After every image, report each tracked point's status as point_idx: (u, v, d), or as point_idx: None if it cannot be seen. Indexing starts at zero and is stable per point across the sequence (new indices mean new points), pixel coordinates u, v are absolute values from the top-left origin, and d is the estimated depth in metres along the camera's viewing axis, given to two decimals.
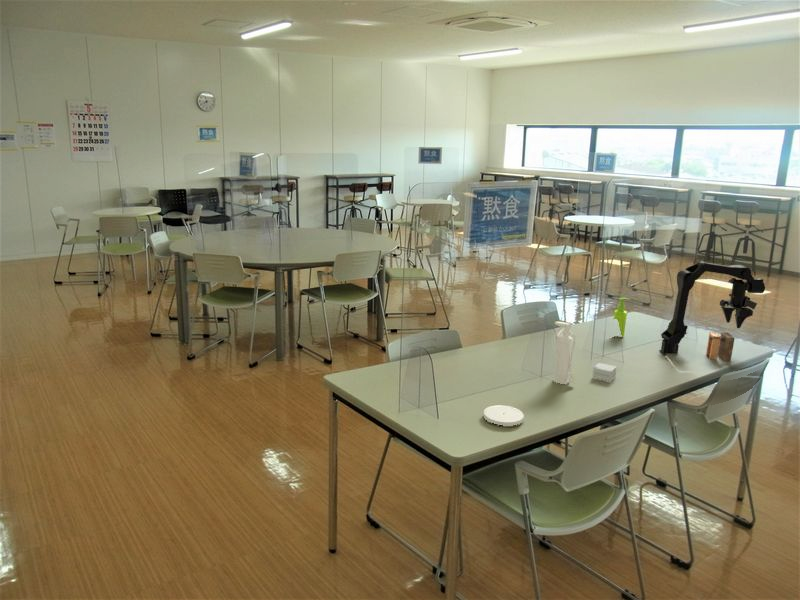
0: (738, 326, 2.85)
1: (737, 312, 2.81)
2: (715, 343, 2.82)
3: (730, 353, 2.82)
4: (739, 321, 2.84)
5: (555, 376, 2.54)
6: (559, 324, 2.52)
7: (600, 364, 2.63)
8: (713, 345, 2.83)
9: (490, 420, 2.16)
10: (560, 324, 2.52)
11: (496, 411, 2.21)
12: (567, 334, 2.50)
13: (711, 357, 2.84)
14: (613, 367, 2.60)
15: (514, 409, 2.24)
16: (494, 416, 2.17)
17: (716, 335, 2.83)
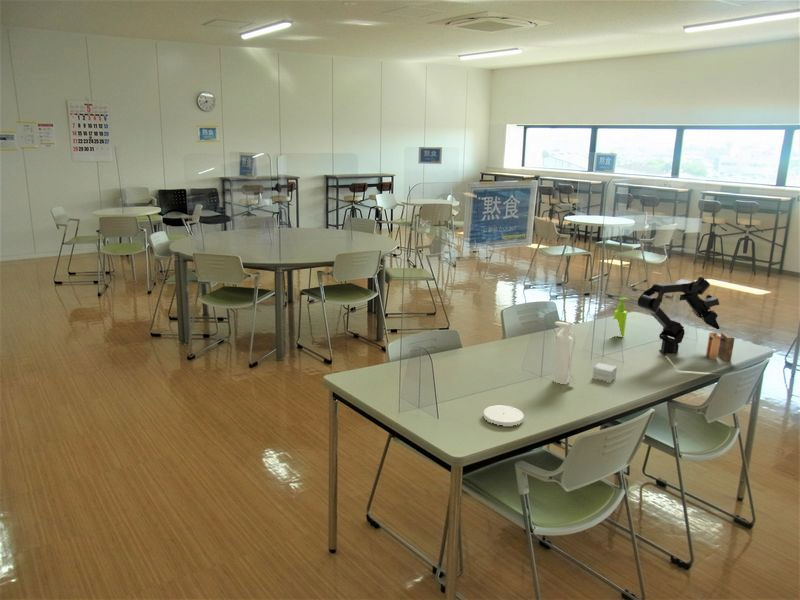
0: (717, 328, 2.88)
1: None
2: (715, 343, 2.82)
3: (730, 353, 2.82)
4: (714, 324, 2.87)
5: (555, 376, 2.54)
6: (559, 324, 2.52)
7: (600, 364, 2.63)
8: (713, 345, 2.83)
9: (490, 420, 2.16)
10: (560, 324, 2.52)
11: (496, 411, 2.21)
12: (567, 334, 2.50)
13: (711, 357, 2.84)
14: (613, 367, 2.60)
15: (514, 409, 2.24)
16: (494, 416, 2.17)
17: (716, 335, 2.83)
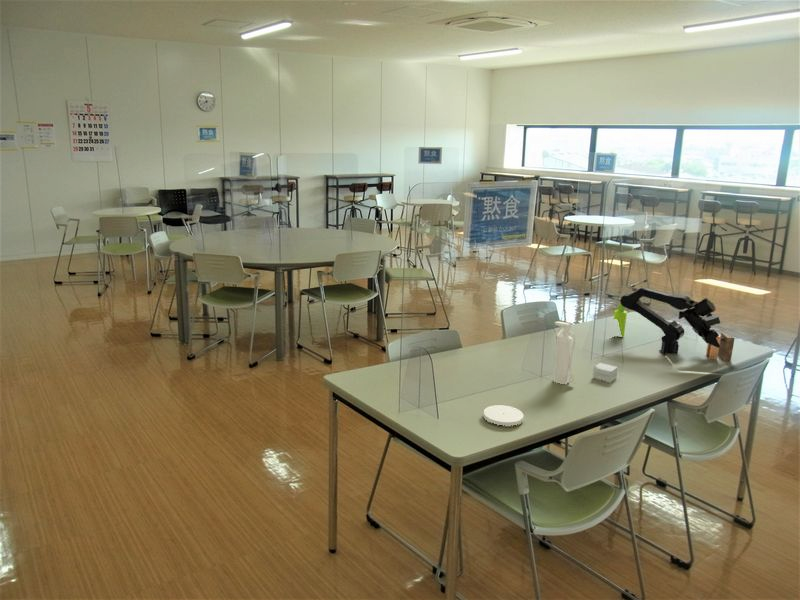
0: (717, 346, 2.82)
1: None
2: None
3: (730, 353, 2.82)
4: (714, 343, 2.81)
5: (555, 376, 2.54)
6: (559, 324, 2.52)
7: (601, 364, 2.63)
8: None
9: (490, 420, 2.16)
10: (560, 324, 2.52)
11: (496, 411, 2.21)
12: (567, 334, 2.50)
13: (711, 357, 2.84)
14: (614, 367, 2.60)
15: (514, 409, 2.24)
16: (494, 416, 2.17)
17: None
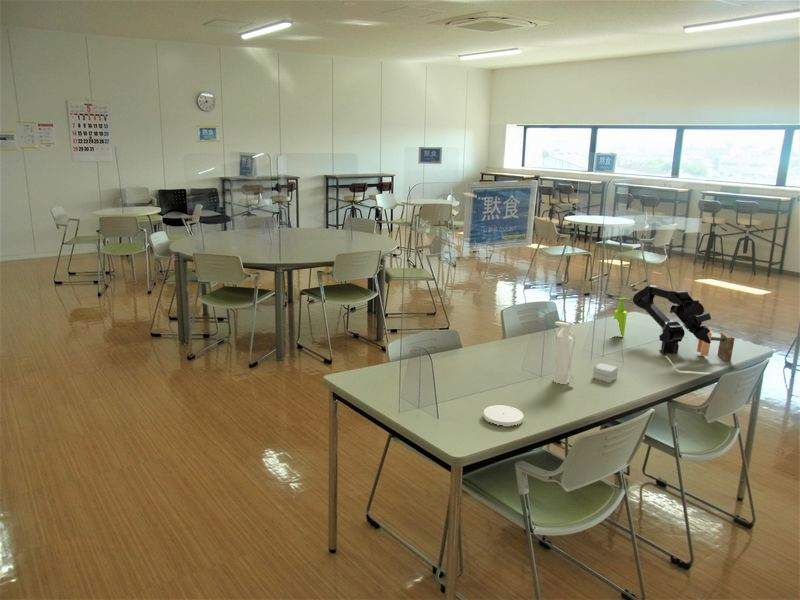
0: (708, 342, 2.82)
1: (696, 337, 2.79)
2: None
3: (730, 353, 2.82)
4: (705, 339, 2.82)
5: (555, 376, 2.54)
6: (559, 324, 2.52)
7: (601, 364, 2.63)
8: None
9: (490, 420, 2.16)
10: (560, 324, 2.52)
11: (496, 411, 2.21)
12: (567, 334, 2.50)
13: (702, 353, 2.85)
14: (614, 367, 2.59)
15: (514, 409, 2.24)
16: (494, 416, 2.17)
17: None
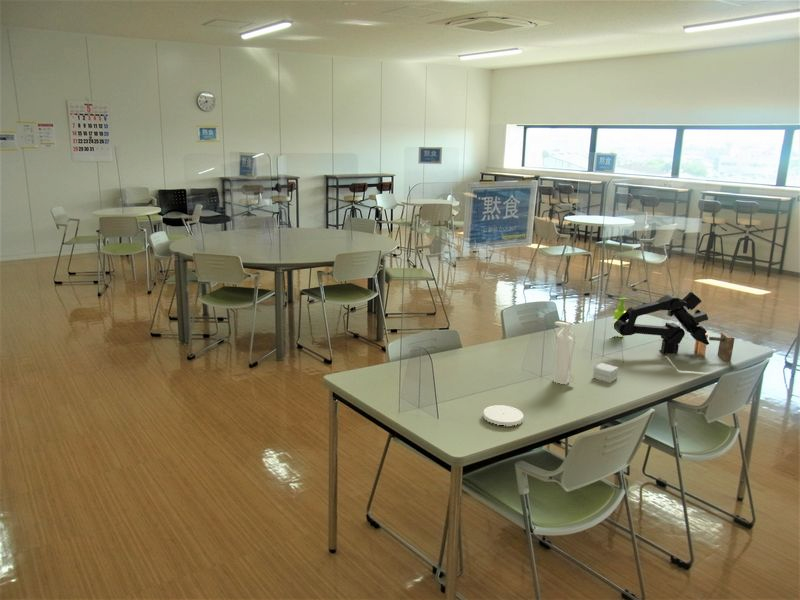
0: (706, 343, 2.86)
1: None
2: None
3: (730, 353, 2.82)
4: (703, 340, 2.85)
5: (555, 376, 2.54)
6: (559, 324, 2.52)
7: (602, 364, 2.63)
8: (700, 343, 2.88)
9: (490, 420, 2.16)
10: (560, 324, 2.52)
11: (496, 411, 2.21)
12: (567, 334, 2.50)
13: None
14: (614, 368, 2.59)
15: (514, 409, 2.24)
16: (494, 416, 2.17)
17: None
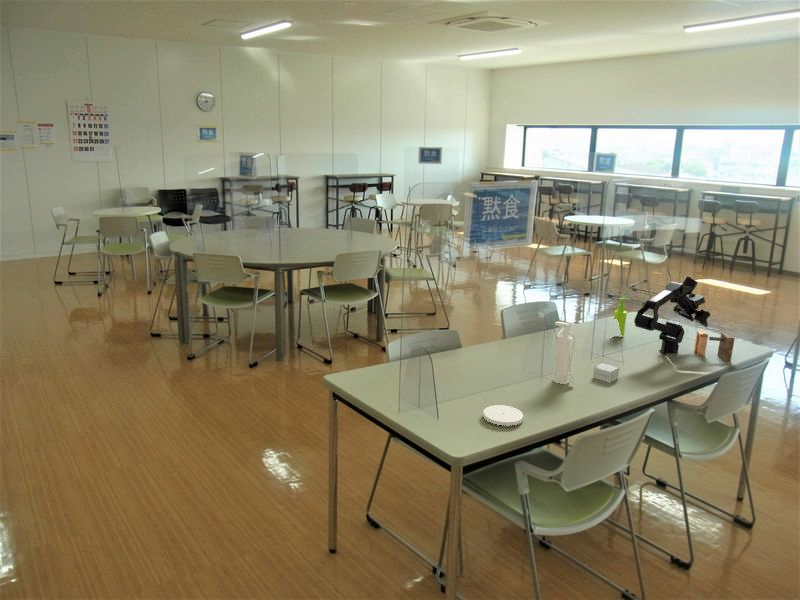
0: (706, 325, 2.90)
1: (697, 321, 2.86)
2: (702, 341, 2.88)
3: (730, 353, 2.82)
4: (704, 323, 2.89)
5: (555, 376, 2.54)
6: (559, 324, 2.52)
7: (603, 364, 2.63)
8: (700, 343, 2.88)
9: (489, 420, 2.16)
10: (560, 324, 2.52)
11: (496, 411, 2.21)
12: (567, 334, 2.50)
13: None
14: (615, 368, 2.59)
15: (514, 409, 2.24)
16: (493, 416, 2.17)
17: (703, 333, 2.88)
